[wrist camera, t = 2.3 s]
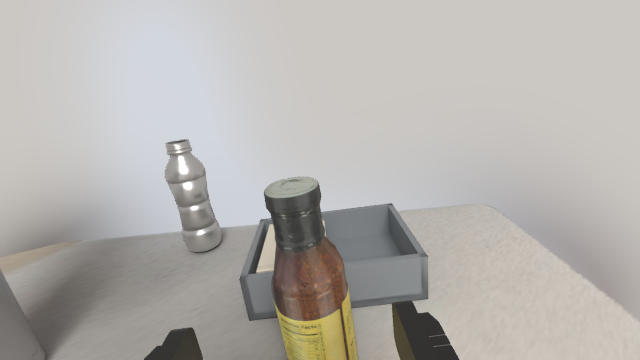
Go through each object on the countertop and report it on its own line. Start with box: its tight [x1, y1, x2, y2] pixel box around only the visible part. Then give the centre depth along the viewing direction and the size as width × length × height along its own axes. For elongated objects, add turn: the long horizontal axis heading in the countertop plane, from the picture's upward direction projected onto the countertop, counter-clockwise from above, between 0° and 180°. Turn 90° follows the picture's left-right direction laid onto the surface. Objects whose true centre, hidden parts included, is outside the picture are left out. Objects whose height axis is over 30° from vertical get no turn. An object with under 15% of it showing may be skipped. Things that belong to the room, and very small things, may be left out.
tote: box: [239, 203, 428, 321], centre depth 43 cm, size 22×16×6 cm
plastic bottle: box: [165, 139, 222, 252], centre depth 53 cm, size 6×7×20 cm
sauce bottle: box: [264, 177, 359, 360], centre depth 25 cm, size 6×6×20 cm
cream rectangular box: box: [256, 220, 326, 273], centre depth 43 cm, size 9×12×5 cm
